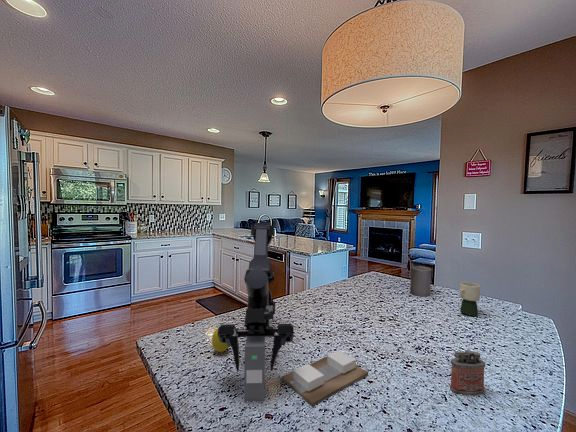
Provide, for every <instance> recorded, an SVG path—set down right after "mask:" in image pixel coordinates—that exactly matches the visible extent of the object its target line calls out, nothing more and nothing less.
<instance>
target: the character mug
mask: <svg viewBox="0 0 576 432" xmlns="http://www.w3.org/2000/svg"><path fill="white" fill-rule="evenodd" d="M459 283H460V284H459V289H458V290H459V292H458V293H459V295H458V296H459V297H460V298H461V299H462V301H461V304H460V310H459V311H460V313H462V314H465V315H469V316H472V317H473V316H475V317H476V316H478V315H479V312H478V311H479V310H478V309H479V307H478V302H479V301H480V298H481V297H480V296H481V285H480V284H478V283H476V282H472V281H471V282H470V281H461V282H459Z"/></svg>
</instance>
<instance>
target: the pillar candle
mask: <svg viewBox="0 0 576 432" xmlns="http://www.w3.org/2000/svg"><path fill="white" fill-rule="evenodd" d="M409 285H410V287H409V289H410V290H409V291H410V292H409V293H410V294H411V295H413V296H415V297H420V298H428V296H429V297H430V296H431V290H432V289H431V287H432V268H431V267H427V266H423V265H413V266H411V267H410V284H409Z"/></svg>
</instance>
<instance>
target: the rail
mask: <svg viewBox="0 0 576 432" xmlns="http://www.w3.org/2000/svg"><path fill="white" fill-rule="evenodd" d="M357 366H358V367H359V364H357V363H356V367H357ZM317 370H318V371H319V372H320V373H322V374H323V375H324V383H326V382H328V381H330V380H332V379H334V378H336V377H338V376H340V375H342V374H343V373H341V372H340V371H338V370H337V369H335V368H334V367H332V366H331V365H329V364H327V365H325V366H323V367H321V368H319V369H317ZM290 384H291V385H292V386H293V387H294V388H295V389H297V390H298V391H299V392H300V393H301V394H304V393H306V392H308V391H307V390H306V389H305V388H304V387H302V386H301V385H300V384H299V383H298V382H297V381H295V380H293V381H290Z"/></svg>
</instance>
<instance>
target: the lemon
mask: <svg viewBox="0 0 576 432" xmlns="http://www.w3.org/2000/svg"><path fill="white" fill-rule="evenodd" d="M211 339H212V340H211V345H212V347H213V349H214V350H216V352H219V353H223V352H224V351H226V350H228V348H229V347H230V346H227V343H221V342H220V340H219V338H218V328H216V329H215V330H214V332H213V334H212V338H211Z"/></svg>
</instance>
